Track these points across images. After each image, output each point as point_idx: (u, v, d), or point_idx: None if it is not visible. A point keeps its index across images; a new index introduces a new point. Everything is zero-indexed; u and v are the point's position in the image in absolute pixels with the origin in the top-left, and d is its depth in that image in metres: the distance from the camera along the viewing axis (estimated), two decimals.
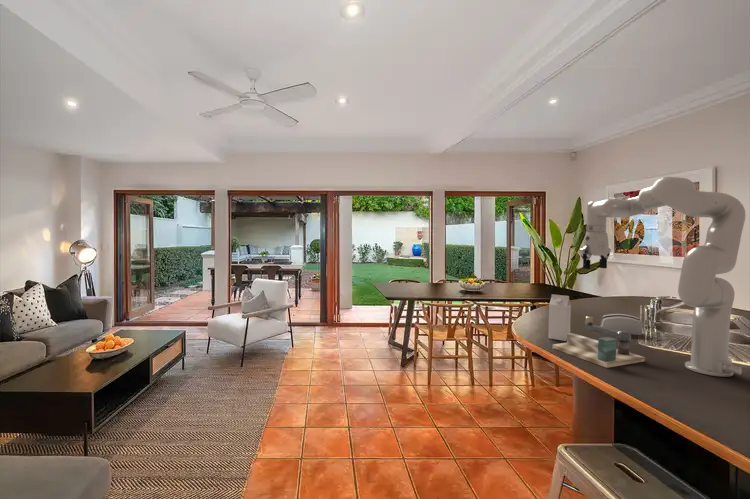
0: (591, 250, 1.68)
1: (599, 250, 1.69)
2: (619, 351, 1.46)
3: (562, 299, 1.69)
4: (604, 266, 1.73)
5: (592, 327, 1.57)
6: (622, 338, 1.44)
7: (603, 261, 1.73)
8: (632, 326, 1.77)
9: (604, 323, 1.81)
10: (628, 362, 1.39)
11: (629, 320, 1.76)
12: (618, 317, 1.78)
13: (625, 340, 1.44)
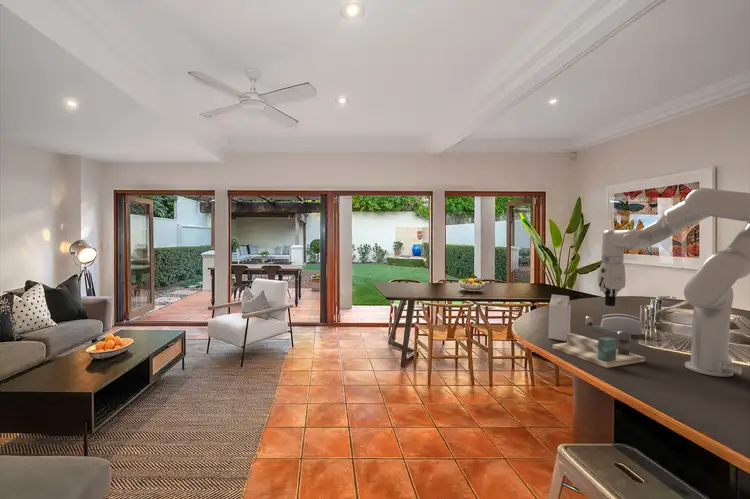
0: (607, 284, 1.54)
1: (616, 283, 1.55)
2: (619, 351, 1.46)
3: (562, 299, 1.69)
4: None
5: (592, 327, 1.57)
6: (622, 338, 1.44)
7: None
8: (631, 326, 1.77)
9: (603, 323, 1.81)
10: (628, 362, 1.39)
11: (628, 320, 1.76)
12: (617, 317, 1.78)
13: (625, 340, 1.44)
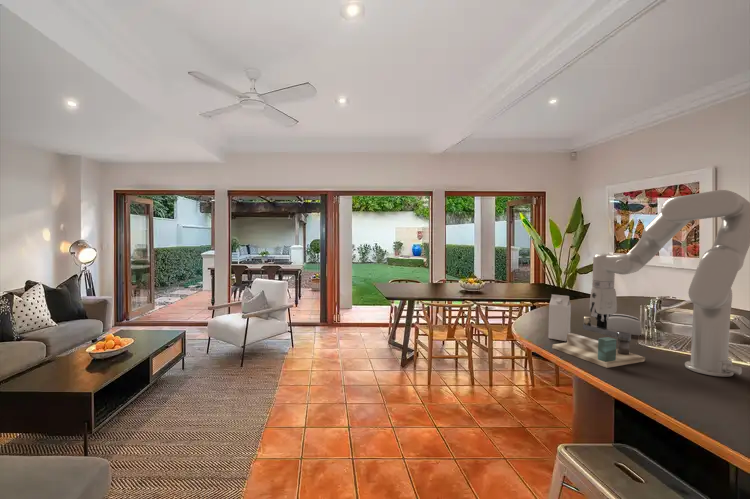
0: (598, 309, 1.53)
1: (607, 308, 1.54)
2: (619, 351, 1.46)
3: (562, 299, 1.69)
4: None
5: (591, 327, 1.56)
6: (622, 338, 1.44)
7: None
8: (631, 326, 1.77)
9: None
10: (628, 362, 1.39)
11: (628, 320, 1.76)
12: (617, 317, 1.78)
13: (625, 340, 1.44)
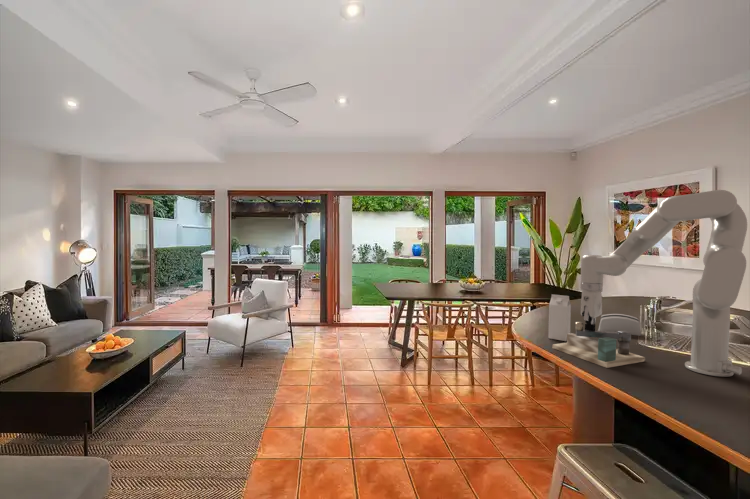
0: (592, 312, 1.47)
1: (597, 311, 1.49)
2: (619, 351, 1.46)
3: (562, 299, 1.69)
4: None
5: (587, 333, 1.48)
6: (628, 338, 1.44)
7: None
8: (630, 326, 1.77)
9: (602, 323, 1.81)
10: (628, 362, 1.39)
11: (627, 320, 1.76)
12: (616, 317, 1.78)
13: (630, 340, 1.44)
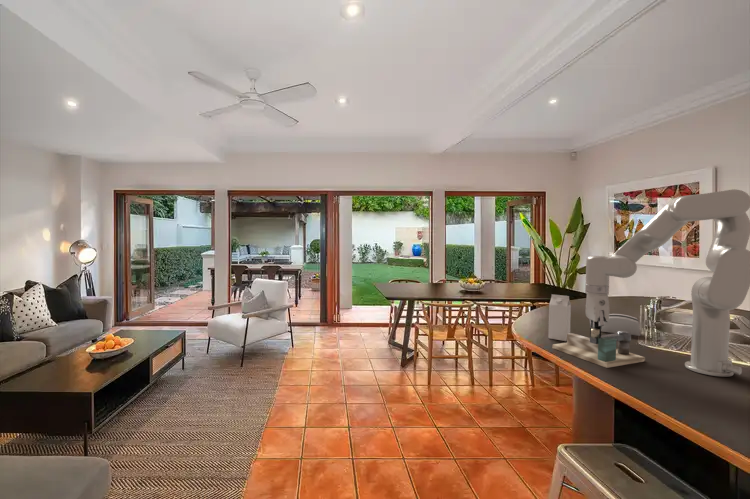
0: (608, 317, 1.39)
1: None
2: (619, 351, 1.46)
3: (562, 299, 1.69)
4: None
5: None
6: (630, 338, 1.44)
7: None
8: (630, 326, 1.76)
9: None
10: (628, 362, 1.39)
11: (626, 320, 1.76)
12: (615, 317, 1.78)
13: None
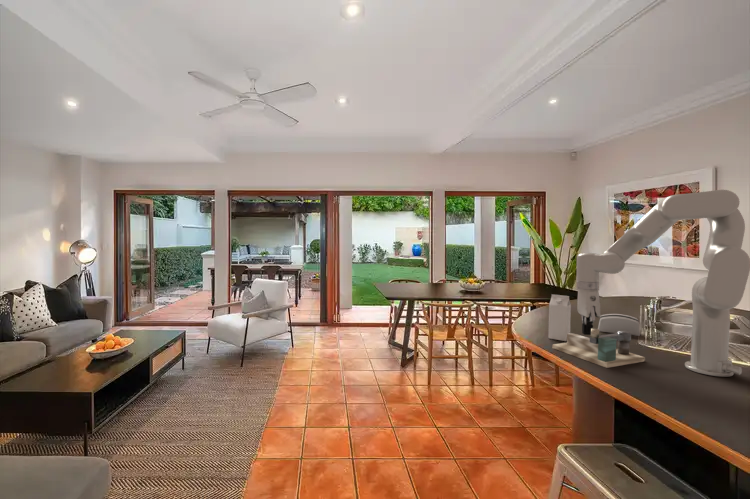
0: (599, 312, 1.42)
1: None
2: (619, 351, 1.46)
3: (562, 299, 1.69)
4: None
5: None
6: (630, 338, 1.44)
7: None
8: (629, 326, 1.76)
9: (601, 323, 1.82)
10: (628, 362, 1.39)
11: (626, 320, 1.76)
12: (615, 317, 1.78)
13: None
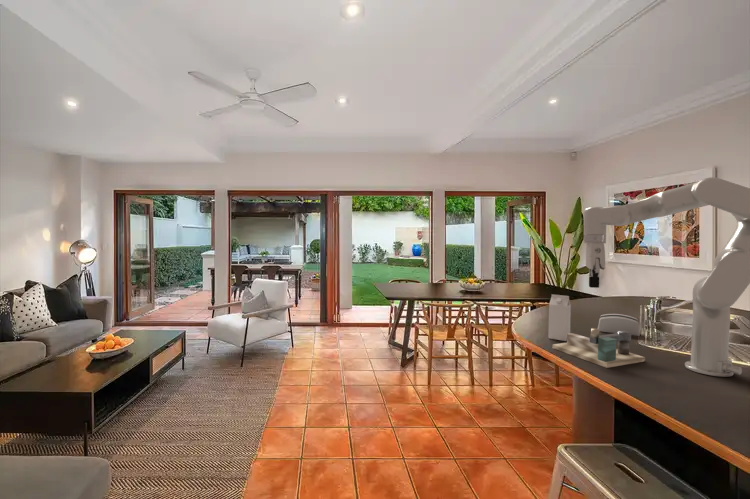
0: (604, 264, 1.45)
1: None
2: (619, 351, 1.46)
3: (562, 299, 1.69)
4: None
5: None
6: (630, 338, 1.44)
7: None
8: (629, 326, 1.76)
9: (601, 322, 1.82)
10: (628, 362, 1.39)
11: (625, 320, 1.76)
12: (614, 317, 1.78)
13: None
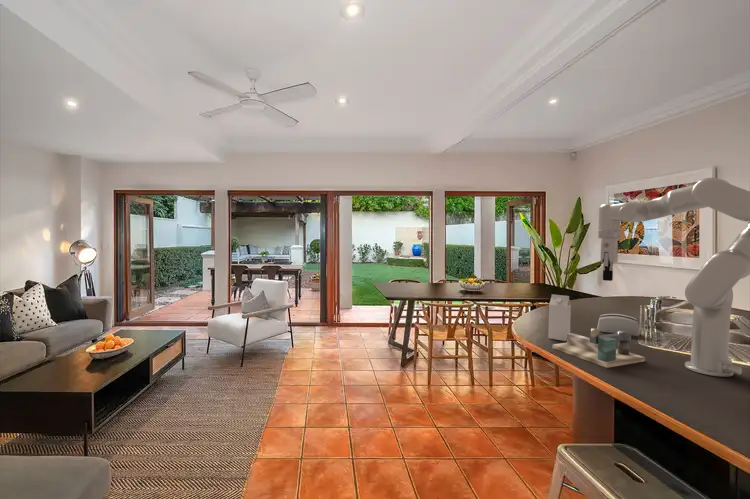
0: (612, 258, 1.52)
1: (616, 257, 1.55)
2: (619, 351, 1.46)
3: (562, 299, 1.69)
4: None
5: None
6: (630, 338, 1.44)
7: None
8: (628, 326, 1.76)
9: (600, 322, 1.82)
10: (628, 362, 1.39)
11: (625, 320, 1.76)
12: (614, 317, 1.78)
13: None
